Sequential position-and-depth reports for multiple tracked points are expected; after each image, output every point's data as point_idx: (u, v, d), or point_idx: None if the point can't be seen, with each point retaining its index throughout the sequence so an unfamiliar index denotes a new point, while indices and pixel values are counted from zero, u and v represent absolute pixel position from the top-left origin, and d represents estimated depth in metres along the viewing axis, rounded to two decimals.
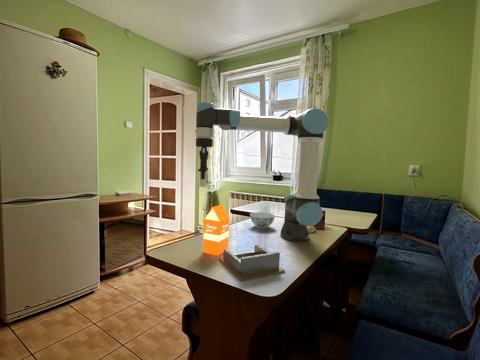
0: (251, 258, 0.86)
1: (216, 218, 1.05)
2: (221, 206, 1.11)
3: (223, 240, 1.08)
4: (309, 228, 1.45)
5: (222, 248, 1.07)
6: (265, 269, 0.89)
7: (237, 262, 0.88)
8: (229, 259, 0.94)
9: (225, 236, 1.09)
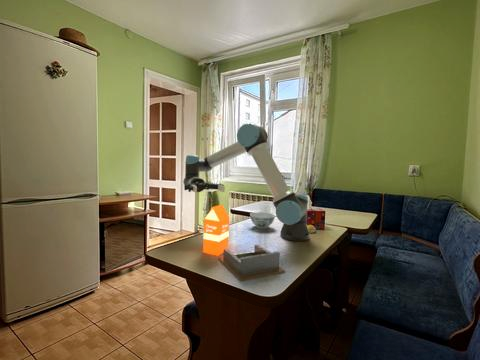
0: (251, 258, 0.86)
1: (216, 218, 1.05)
2: (221, 206, 1.11)
3: (223, 240, 1.08)
4: (309, 228, 1.45)
5: (222, 248, 1.07)
6: (265, 269, 0.89)
7: (237, 262, 0.88)
8: (229, 259, 0.94)
9: (225, 236, 1.09)
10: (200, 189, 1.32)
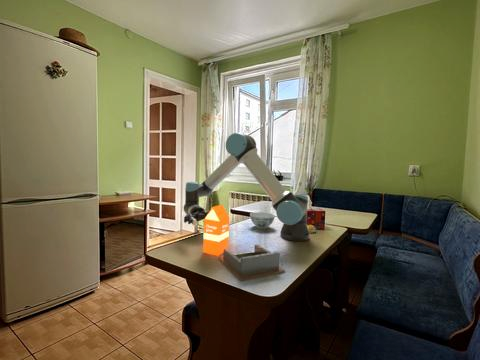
0: (251, 258, 0.86)
1: (216, 218, 1.05)
2: (221, 206, 1.11)
3: (223, 240, 1.08)
4: (310, 228, 1.45)
5: (222, 248, 1.07)
6: (265, 269, 0.89)
7: (237, 262, 0.88)
8: (229, 259, 0.94)
9: (225, 236, 1.09)
10: None
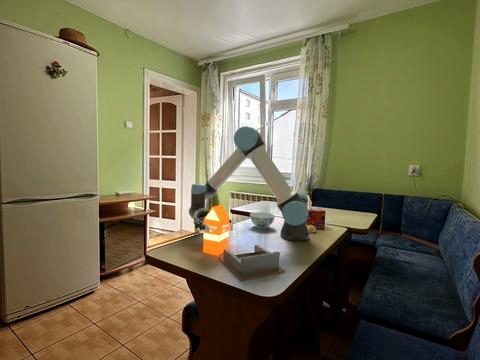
0: (251, 258, 0.86)
1: (216, 218, 1.05)
2: (221, 206, 1.11)
3: (224, 240, 1.08)
4: (310, 228, 1.44)
5: (222, 248, 1.07)
6: (265, 269, 0.89)
7: (237, 262, 0.88)
8: (229, 259, 0.94)
9: (225, 236, 1.09)
10: None
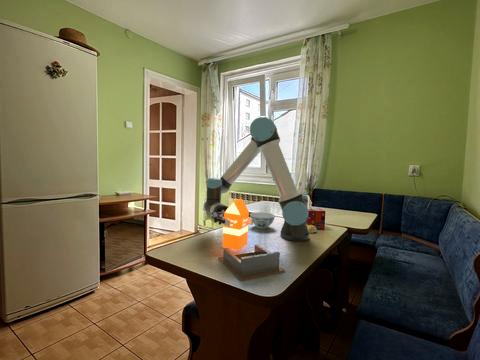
0: (251, 258, 0.86)
1: (237, 212, 1.02)
2: (241, 200, 1.08)
3: (243, 235, 1.05)
4: (310, 228, 1.44)
5: (242, 242, 1.05)
6: (265, 269, 0.89)
7: (237, 262, 0.88)
8: (229, 259, 0.94)
9: (245, 230, 1.06)
10: None
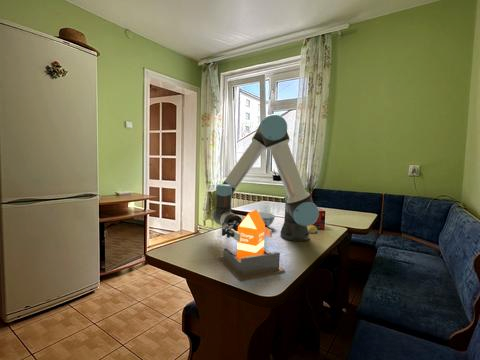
0: (251, 258, 0.86)
1: (252, 226, 0.91)
2: (256, 211, 0.97)
3: (260, 251, 0.94)
4: (311, 228, 1.44)
5: None
6: (265, 269, 0.89)
7: (237, 262, 0.88)
8: (229, 259, 0.94)
9: (261, 246, 0.95)
10: None
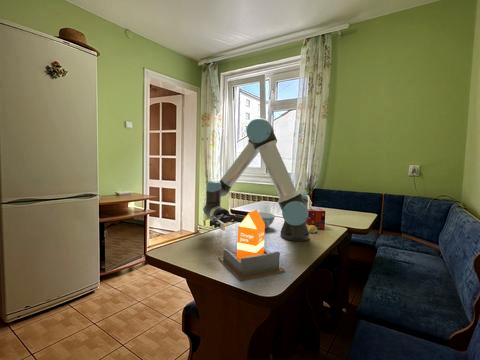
0: (251, 258, 0.86)
1: (252, 226, 0.91)
2: (256, 211, 0.97)
3: (260, 251, 0.94)
4: (311, 228, 1.44)
5: None
6: (265, 269, 0.89)
7: (237, 262, 0.88)
8: (229, 259, 0.94)
9: (261, 246, 0.95)
10: None
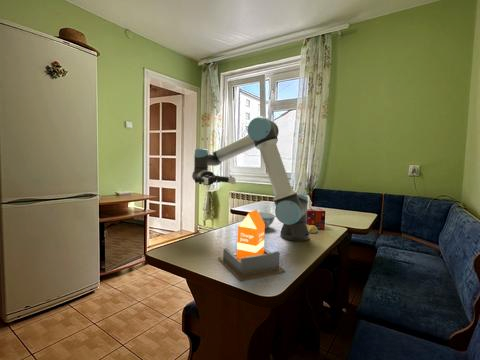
0: (251, 258, 0.86)
1: (252, 226, 0.91)
2: (256, 211, 0.97)
3: (260, 251, 0.94)
4: (311, 228, 1.44)
5: None
6: (265, 269, 0.89)
7: (237, 262, 0.88)
8: (229, 259, 0.94)
9: (261, 246, 0.95)
10: (210, 182, 1.31)
